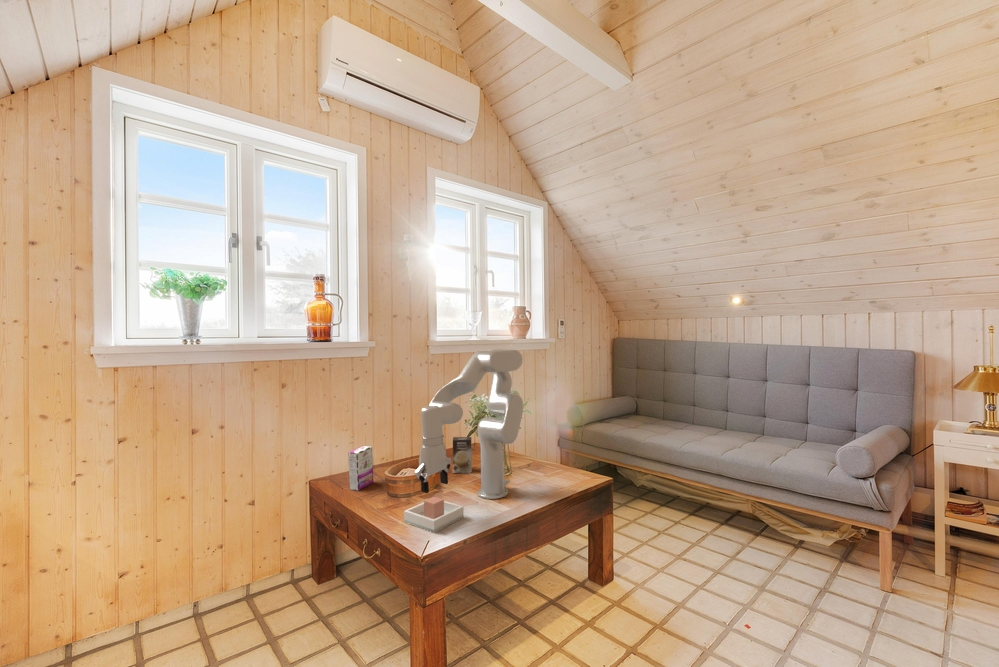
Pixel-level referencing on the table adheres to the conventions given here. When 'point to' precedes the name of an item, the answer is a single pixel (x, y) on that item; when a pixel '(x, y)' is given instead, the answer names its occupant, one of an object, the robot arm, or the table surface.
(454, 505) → the tray
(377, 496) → the table surface
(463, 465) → the coffee box
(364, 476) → the candy bar box
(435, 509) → the pink block
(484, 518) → the table surface
